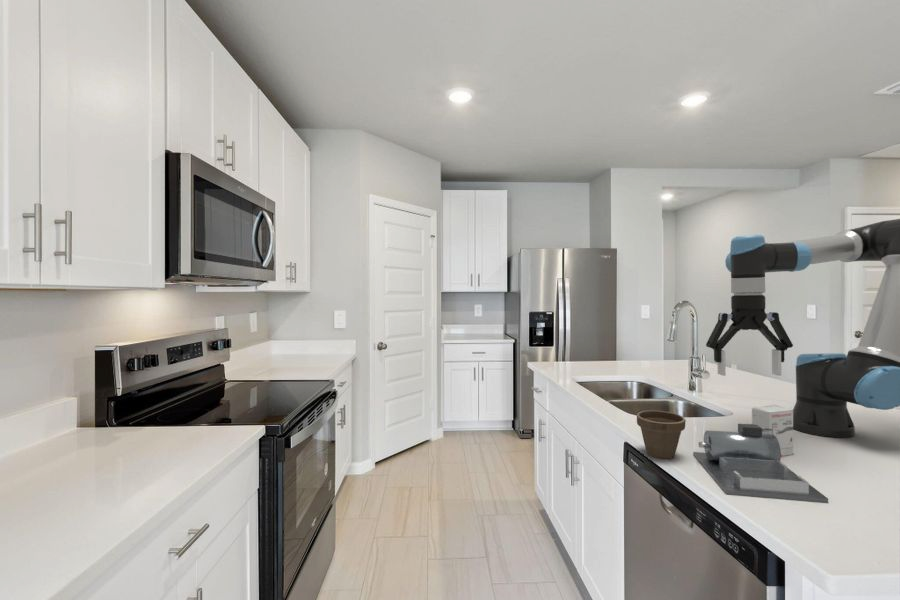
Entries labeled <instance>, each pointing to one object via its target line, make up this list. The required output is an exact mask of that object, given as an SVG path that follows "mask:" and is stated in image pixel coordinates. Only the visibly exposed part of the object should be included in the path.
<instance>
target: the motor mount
mask: <svg viewBox="0 0 900 600" xmlns="http://www.w3.org/2000/svg"><path fill="white" fill-rule="evenodd" d="M697 445H698V447H699V448H704V452H703V451H701V452H699V451H693V453H692V454H693V455H692V456H694V458H695V459H696V460H697V461H698V463H699V464H700V465H701V466H702V468H704V470H705V471H706V472H707V473H708V474H709V476H710V477H711V478H712V480H714V481H715V483H716V484H717V485H718V486H719V487H720V489H721V490H722V491H723V492H724V494H725V495H730V496H731V495H732V496H733V495H735V496H743V497H745V496H746V497H754V498H755V497H756V498H757V497H758V498H768V499H778V500H791V501H803V502H804V501H805V502H813V503H815V502H816V503H829V498H828V497H826V495H824V494H822V492H820V491H819V490H818V489H816V488H815V487H813V486H812V485H811V484H809V483H810V482H808V481H807V480H806V479H804V478H803V477H801V476H800V475H798V474H797V473H795V472H794V471H792V470H791V469H789V467H788V466H787V465H785V464H784V463H783V462H781V457H782V456H781V450H780V445H779V442H778V440H777V438H776V436H775V435H773V434H763V433H762V428H761V427H759V426H758V425H756V424H752V423H737V431H726V430H725V431H723V430H705V432H704V434H703V441H699V442H698V444H697Z"/></svg>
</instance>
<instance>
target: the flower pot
mask: <svg viewBox="0 0 900 600" xmlns="http://www.w3.org/2000/svg"><path fill="white" fill-rule="evenodd" d="M686 423H687V421H686V418H685V417H684V416H682V415H680V414H677V413H674V412H670V411H665V410H664V411H663V410H642V411H639V412H637V413H636V424H637V425H638V427H639V428H640V429H641V430H640V431H641V436H642V439H643V443H644V447H645V451H646V453H647V455H648V456H651V457H653V458H658V459H662V460H663V459H665V460H666V459H667V460H668V459H672V458H674V457H675V455H676V452H677V449H678V445H679V443H680V442H679V441H680V437H681V434H682V431H684V430H685V429H686Z"/></svg>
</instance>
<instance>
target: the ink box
mask: <svg viewBox="0 0 900 600" xmlns="http://www.w3.org/2000/svg"><path fill="white" fill-rule="evenodd" d="M751 424H756V425H758V426H759V427H761V428H762V433H763V434H773V435H775V436H776V438H777V440H778V442H779V445H780V450H781V457H784V456H791V455H794V429H793V408H789V407H786V406H785V407H784V406H781V405H778V404H768V405H759V406H756V405H755V406H753V407H752V408H751Z"/></svg>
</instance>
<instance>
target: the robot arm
mask: <svg viewBox="0 0 900 600" xmlns="http://www.w3.org/2000/svg"><path fill="white" fill-rule="evenodd" d="M729 249H730V250H729V251H730V252H729V253H727V255H726V257H725V267H726V269H727V271H728V272H730V291H731V292H730V293H732V294H733V295H732V296H730V300H731V301H730V302H731V303H730V305H731V313H726V312H720V313H719V314H718V317H717V322H716V323H715V325H714V327H713V329H712V332H711V334H710V336H709V338H708V340H707V341H706V344H705V346H706V347H707V348H710V349H712V350H713V361H714V362H715V363H717V375H721V376H726V350H723V349H724V347H725V346H726V345H727V344H728V343H729V342H730V341H731V340H732V339H733V337H735V335H736V334H737V333H738V332H740V331H741V330H742V331H748V330H753V331H758V332H760V333H761V334H762V336H764V338H765V339H766V340H767V341H768V342H769V343H770V344H771V345H772V346H773V349H771V374H772V375H774V376H775V375H776V376H779V377H780V376H782V363H785V351H787V350H788V349H789V348H793V346H794V344H793V342H792V340H791V339H790V337H789V335H788V334H787V332H786V330H785V328H784V326H783V324H782V322H781V320H780V314H779V313H778V312H775V311H774V312H773V311H770V312H768V313H766V310H765V309H766V296H765V295H764V294H765V293H766V273H776V272H777V273H780V272H789V273H792V272H793V273H794V272H800V271H804V270H805V269H807V268H808V267H809V266H810V265H816V264H821V263H828V262H829V263H830V262H836V261H840V262H843V263H853V262H873V261H874V262H881V263H883V264H884V265H885V266H886V267H885V271H884V273H883V275H882V279H881V282H880V284H879V287H878V290H877V292H876V296H875V298H874V301H873V303H872V307H871V309H870V312H869V316H868V317H867V321H866V323H865V326H864V328H863V331H862V334H861V337H860V339H859V343H858V346H856V347H855V348H851V349H850V350H848V352H847V355H846V353H801V354H799V355H798V356H797V357H796V364H795V366H794V367H795V389H796V390H795V391H796V392H795V395H796V400H795V404H794V406H793V408H792V410H793V430H797V431H799V432H802V433H805V434H810V435H816V436H822V437H829V438H850V437H854V436H855V435H856V427H855V424H854V422H853V420H852V417H851V414H850V412H849V409H848V407H847V406H848V405H847V404H848V403H851V404H854V405H859V406H862V407H864V408H866V409H867V408H868V409H875V410H879V411H881V410H882V411H883V410H884V411H885V410H886V411H887V410H892V409H894V408H898V407H900V218H897V219H890V220H883V221H879V222H875V223H870V224H866V225H863V226H860V227H855V228H851V229H845V230H841V231H839V232H837V233H836V234H833V235H827V236H821V237H814V238H807V239H801V240H794V241H787V242H779V243H775V242H774V243H773V242H772V243H769V242H766V240H765V236H764V235H761V234H760V235H759V234H750V235H749V234H746V235H739V236H735V237H734V238H732V239H731V242H730V248H729ZM730 320H731V321H732V323H731V324H730V325H729V327H728V329H727V330H726V331H725V332H724V329H725V328H726V326H727V323H728V322H729V321H730ZM766 320H767V321H768V322H769V324H770V326H771V327H772V330H773V331H774V332H775V333H773V332H772V331H771V330H770V328H769V327H768V325H766V324H765V321H766ZM723 332H724V334H723ZM775 334H776V335H775ZM774 348H775V349H774Z"/></svg>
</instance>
